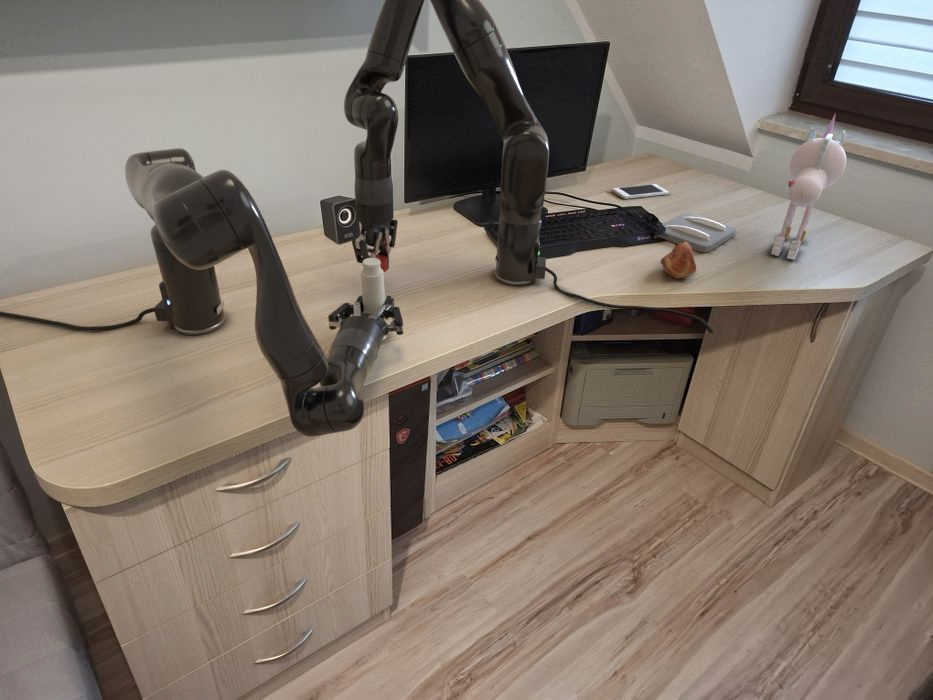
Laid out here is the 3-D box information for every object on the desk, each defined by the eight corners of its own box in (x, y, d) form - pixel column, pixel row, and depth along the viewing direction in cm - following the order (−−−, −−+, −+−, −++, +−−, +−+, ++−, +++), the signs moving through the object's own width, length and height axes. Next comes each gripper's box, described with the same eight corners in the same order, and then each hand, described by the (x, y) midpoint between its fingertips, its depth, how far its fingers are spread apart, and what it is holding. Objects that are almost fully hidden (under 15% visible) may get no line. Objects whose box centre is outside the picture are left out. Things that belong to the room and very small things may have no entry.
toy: (826, 222, 178) (867, 110, 161) (806, 269, 152) (852, 142, 135) (779, 212, 183) (814, 103, 167) (751, 256, 157) (789, 132, 141)
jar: (365, 342, 120) (360, 266, 111) (365, 331, 123) (359, 256, 114) (387, 341, 121) (383, 266, 112) (386, 330, 124) (382, 256, 115)
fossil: (669, 273, 140) (675, 228, 140) (641, 275, 147) (646, 232, 147) (707, 283, 147) (712, 240, 147) (678, 285, 154) (683, 244, 154)
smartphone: (611, 191, 194) (612, 187, 193) (654, 186, 199) (655, 183, 198) (624, 199, 188) (625, 196, 188) (668, 194, 193) (668, 191, 193)
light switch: (708, 241, 156) (653, 223, 165) (705, 253, 158) (650, 234, 167) (740, 223, 167) (687, 206, 176) (737, 234, 169) (684, 217, 178)
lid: (376, 261, 138) (375, 252, 137) (392, 268, 136) (392, 258, 135) (360, 269, 135) (359, 259, 134) (377, 276, 133) (376, 266, 131)
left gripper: (396, 332, 104) (414, 283, 118) (311, 325, 105) (338, 278, 119) (398, 369, 108) (414, 318, 122) (315, 363, 109) (342, 313, 123)
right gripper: (377, 182, 133) (380, 257, 143) (337, 204, 122) (343, 283, 132) (408, 189, 131) (409, 264, 140) (370, 212, 120) (373, 292, 129)
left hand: (377, 298), depth 120 cm, fingers closed on jar, 4 cm apart
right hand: (377, 273), depth 136 cm, fingers closed on lid, 4 cm apart
